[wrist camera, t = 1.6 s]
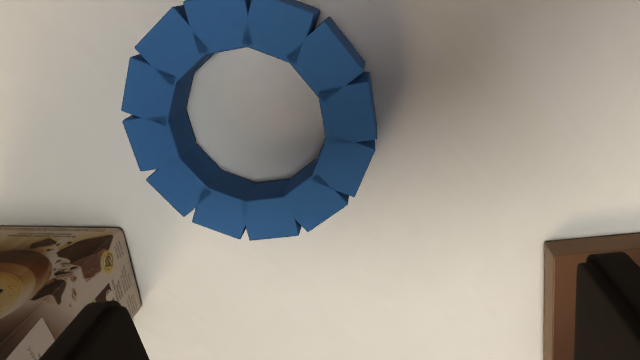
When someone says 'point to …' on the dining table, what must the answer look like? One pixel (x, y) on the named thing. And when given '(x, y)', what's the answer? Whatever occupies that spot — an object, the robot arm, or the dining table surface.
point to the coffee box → (57, 282)
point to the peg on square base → (572, 286)
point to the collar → (197, 167)
